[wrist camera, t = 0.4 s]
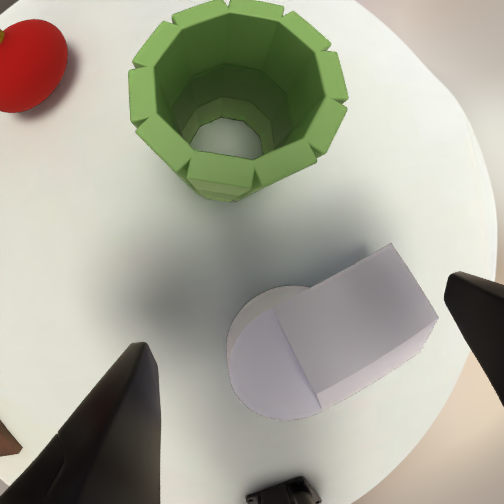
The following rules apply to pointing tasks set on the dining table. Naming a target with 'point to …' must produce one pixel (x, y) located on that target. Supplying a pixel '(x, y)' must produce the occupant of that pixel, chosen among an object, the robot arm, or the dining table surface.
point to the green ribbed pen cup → (237, 93)
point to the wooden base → (8, 442)
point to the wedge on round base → (327, 337)
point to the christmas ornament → (30, 64)
